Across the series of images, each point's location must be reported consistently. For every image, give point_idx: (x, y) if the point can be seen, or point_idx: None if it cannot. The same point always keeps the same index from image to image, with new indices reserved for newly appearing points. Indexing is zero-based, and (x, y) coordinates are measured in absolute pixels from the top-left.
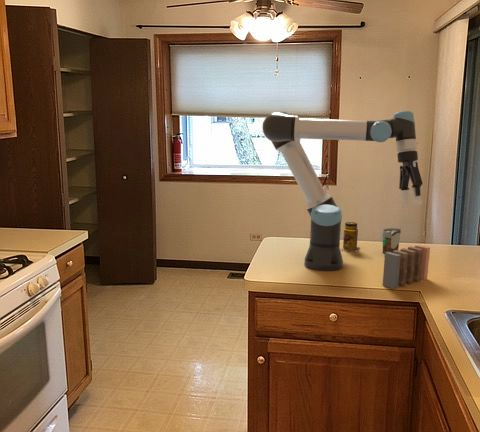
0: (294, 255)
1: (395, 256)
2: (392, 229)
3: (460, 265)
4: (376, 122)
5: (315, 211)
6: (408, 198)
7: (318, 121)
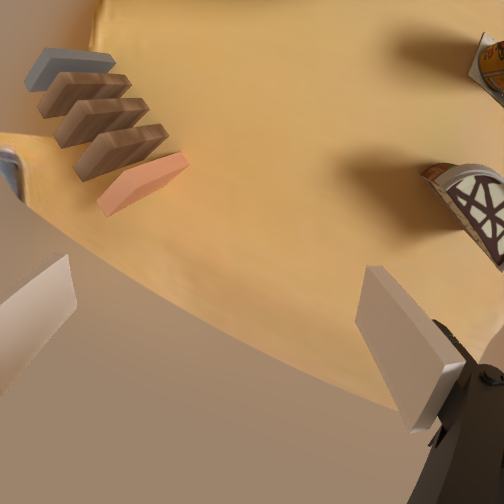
0: None
1: (28, 77)
2: None
3: (291, 335)
4: None
5: None
6: (379, 355)
7: None
